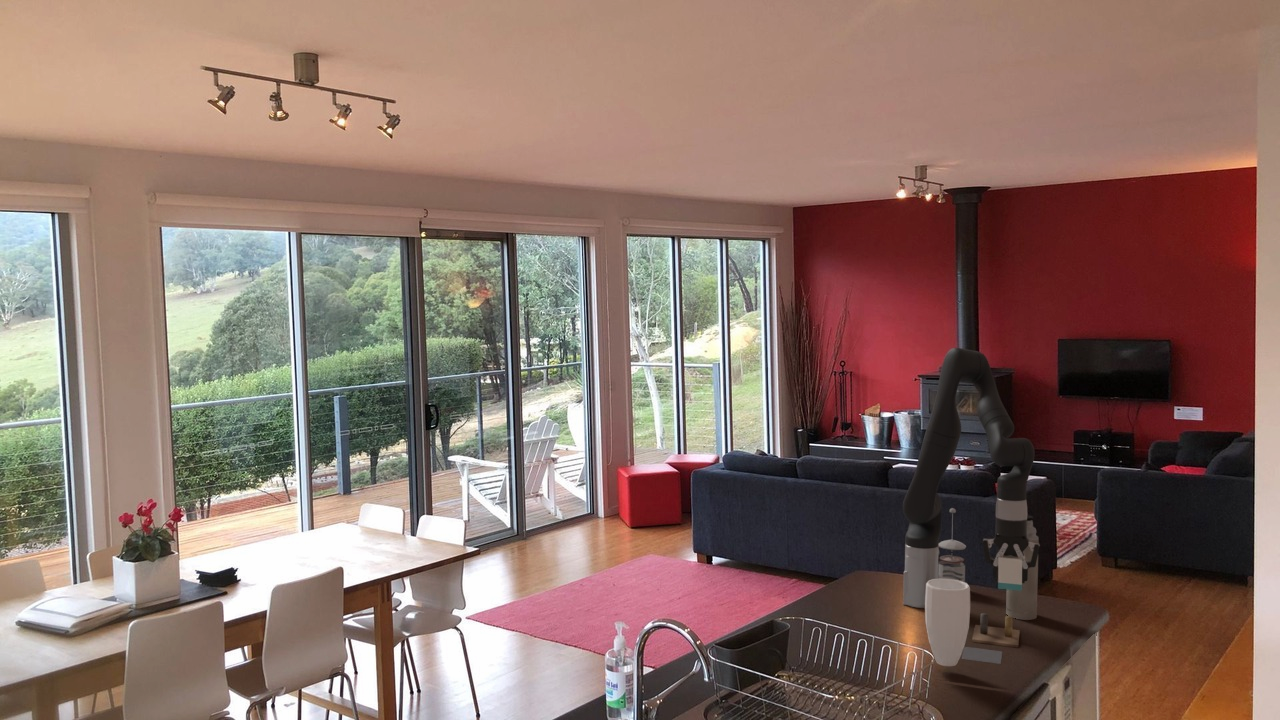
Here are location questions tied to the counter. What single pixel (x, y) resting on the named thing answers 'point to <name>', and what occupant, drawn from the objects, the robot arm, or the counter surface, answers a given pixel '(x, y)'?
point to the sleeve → (1010, 573)
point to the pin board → (996, 633)
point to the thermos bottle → (1025, 585)
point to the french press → (951, 559)
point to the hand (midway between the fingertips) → (1010, 580)
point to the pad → (982, 655)
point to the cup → (947, 618)
